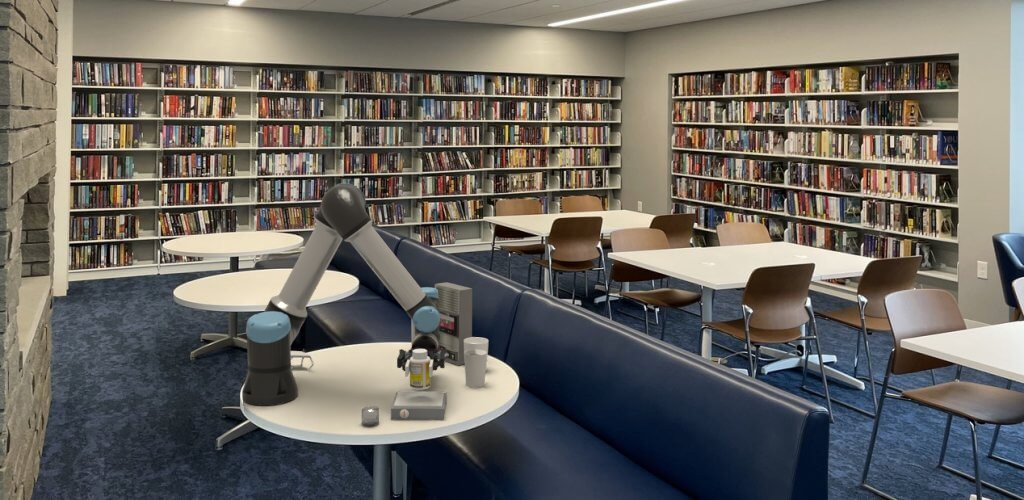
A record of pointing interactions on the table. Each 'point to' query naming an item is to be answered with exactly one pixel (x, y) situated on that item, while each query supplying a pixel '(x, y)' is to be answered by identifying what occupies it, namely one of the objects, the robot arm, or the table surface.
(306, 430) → the table surface
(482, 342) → the white cup
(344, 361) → the table surface
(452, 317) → the cassette tape recorder
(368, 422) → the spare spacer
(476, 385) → the drinking glass
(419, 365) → the supplement bottle
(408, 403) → the scale
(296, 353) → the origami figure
